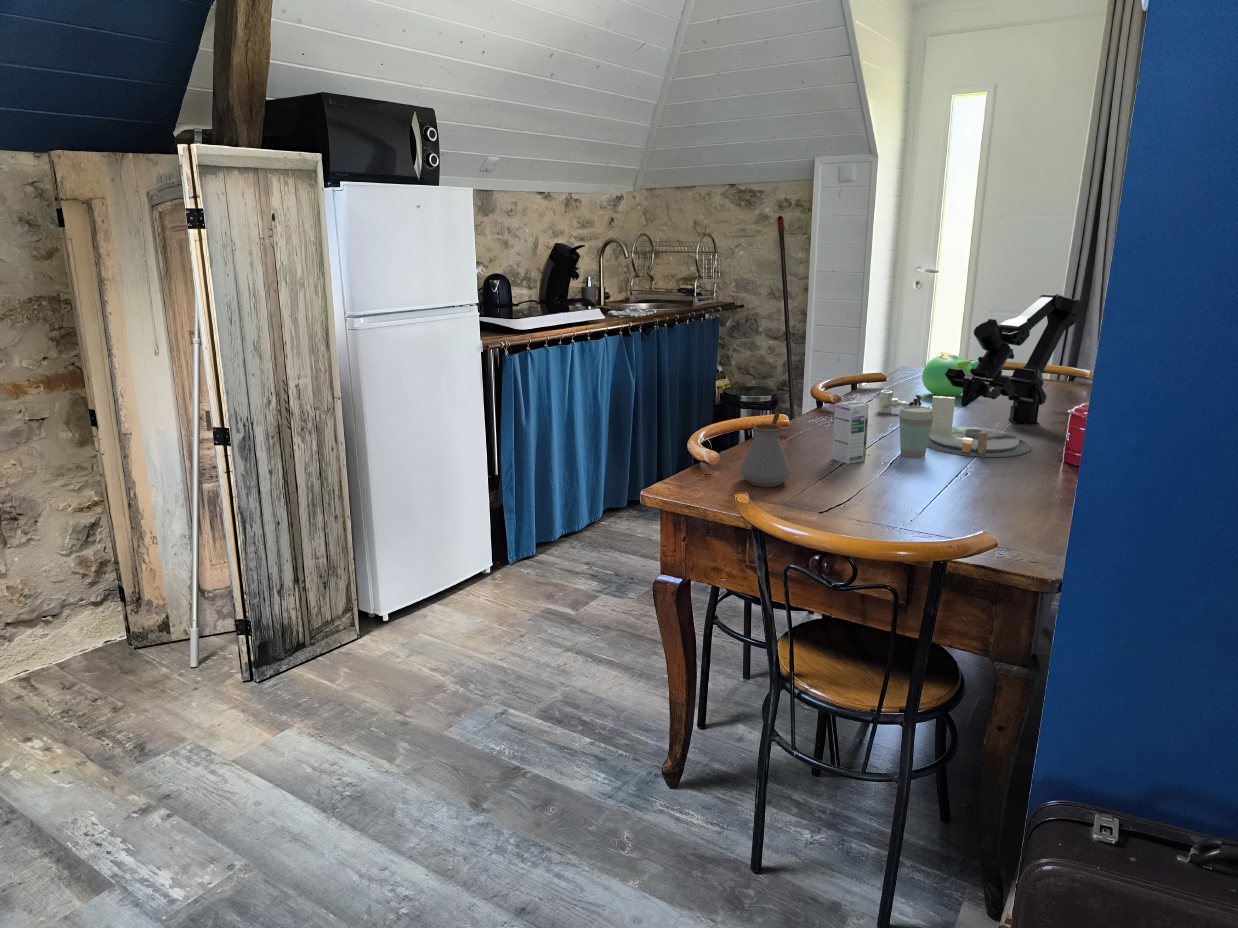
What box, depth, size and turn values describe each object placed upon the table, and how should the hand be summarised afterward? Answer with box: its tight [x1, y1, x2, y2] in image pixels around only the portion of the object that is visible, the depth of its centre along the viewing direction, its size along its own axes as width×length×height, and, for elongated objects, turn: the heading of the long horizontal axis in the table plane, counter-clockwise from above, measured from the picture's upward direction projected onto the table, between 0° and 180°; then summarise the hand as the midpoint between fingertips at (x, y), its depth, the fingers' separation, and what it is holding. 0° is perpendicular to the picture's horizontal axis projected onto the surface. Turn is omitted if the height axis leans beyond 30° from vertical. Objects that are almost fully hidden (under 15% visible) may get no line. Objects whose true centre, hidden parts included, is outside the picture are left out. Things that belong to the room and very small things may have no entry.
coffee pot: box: [739, 404, 792, 488], centre depth 191 cm, size 21×12×15 cm, turn 158°
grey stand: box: [929, 395, 1020, 453], centre depth 217 cm, size 22×24×11 cm
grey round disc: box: [927, 438, 1031, 459], centre depth 219 cm, size 28×28×1 cm
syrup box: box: [832, 400, 870, 465], centre depth 203 cm, size 6×6×14 cm
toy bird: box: [921, 351, 979, 397], centre depth 277 cm, size 18×17×15 cm
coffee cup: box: [897, 405, 934, 459], centre depth 207 cm, size 9×8×12 cm
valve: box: [878, 389, 922, 414], centre depth 254 cm, size 7×7×12 cm
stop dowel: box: [977, 432, 988, 456], centre depth 207 cm, size 2×2×6 cm
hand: (963, 406), depth 225 cm, fingers closed
